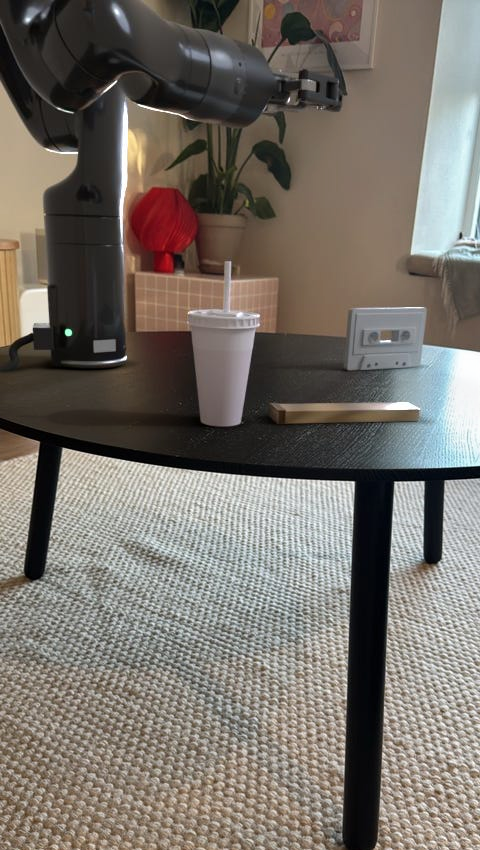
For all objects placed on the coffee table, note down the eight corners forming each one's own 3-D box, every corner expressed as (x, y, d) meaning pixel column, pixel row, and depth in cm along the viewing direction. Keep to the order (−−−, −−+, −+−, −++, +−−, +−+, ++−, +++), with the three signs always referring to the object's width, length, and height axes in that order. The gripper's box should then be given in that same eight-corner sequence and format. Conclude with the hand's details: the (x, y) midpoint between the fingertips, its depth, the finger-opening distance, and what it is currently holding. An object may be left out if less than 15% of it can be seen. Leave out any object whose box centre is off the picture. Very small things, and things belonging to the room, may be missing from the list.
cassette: (414, 364, 103) (421, 306, 100) (423, 367, 101) (430, 308, 98) (340, 368, 98) (345, 307, 95) (348, 371, 96) (354, 309, 93)
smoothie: (204, 432, 65) (207, 262, 60) (174, 416, 70) (175, 258, 65) (268, 426, 68) (276, 263, 63) (235, 411, 73) (240, 259, 68)
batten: (277, 424, 69) (278, 410, 69) (269, 416, 72) (269, 402, 71) (418, 421, 72) (420, 407, 72) (405, 413, 75) (407, 401, 74)
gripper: (275, 25, 67) (365, 59, 79) (159, 42, 75) (256, 71, 87) (271, 119, 70) (358, 138, 82) (160, 127, 78) (254, 143, 90)
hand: (306, 103), depth 84 cm, fingers open, 8 cm apart
